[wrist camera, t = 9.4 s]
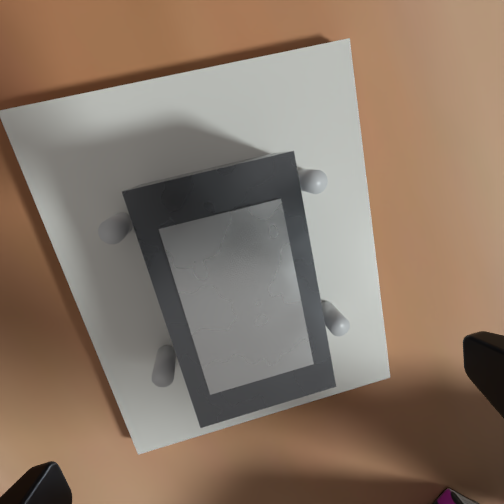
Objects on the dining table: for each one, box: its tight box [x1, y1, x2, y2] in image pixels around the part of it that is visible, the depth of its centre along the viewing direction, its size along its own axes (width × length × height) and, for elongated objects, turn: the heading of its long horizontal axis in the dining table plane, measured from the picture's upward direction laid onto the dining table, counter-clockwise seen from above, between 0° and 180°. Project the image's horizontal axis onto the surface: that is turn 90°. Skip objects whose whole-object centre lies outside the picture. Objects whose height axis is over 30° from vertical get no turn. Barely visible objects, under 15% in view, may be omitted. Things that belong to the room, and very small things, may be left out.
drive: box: [122, 151, 336, 428], centre depth 15 cm, size 6×10×4 cm, turn 13°
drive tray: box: [0, 38, 390, 454], centre depth 16 cm, size 15×18×3 cm
